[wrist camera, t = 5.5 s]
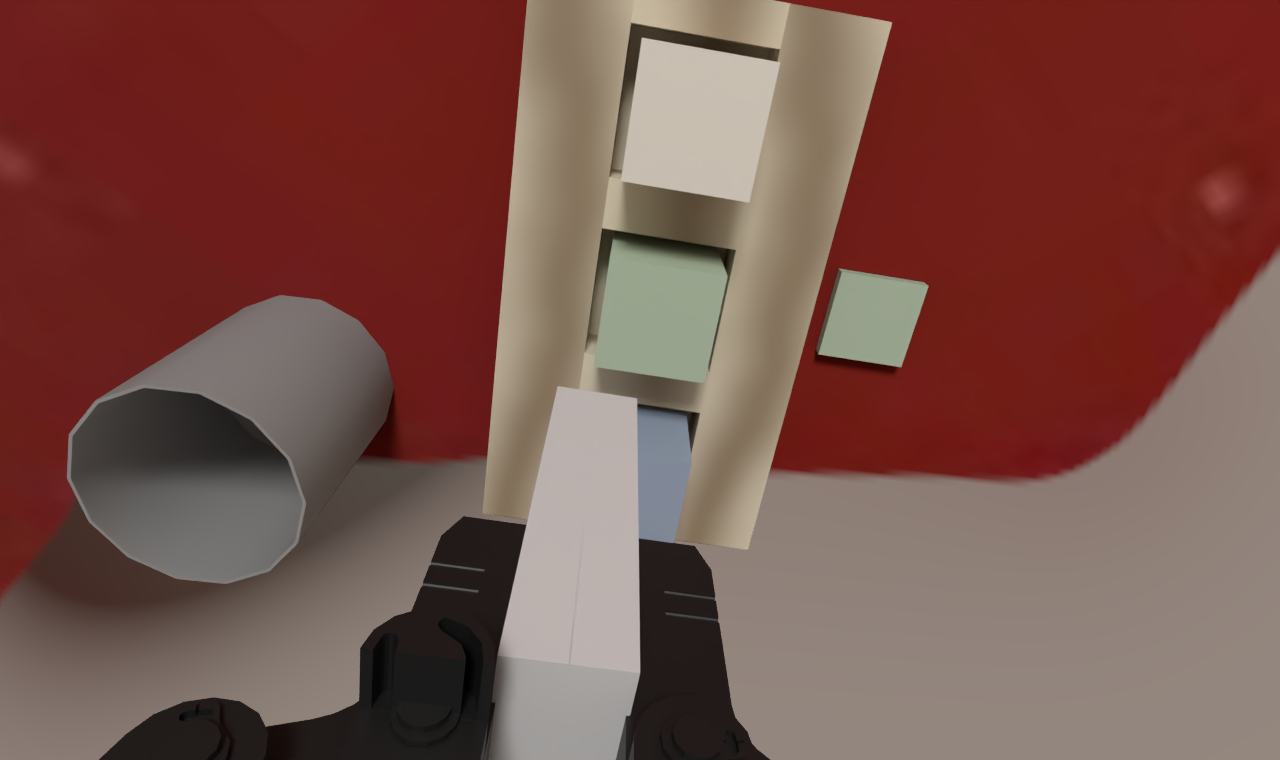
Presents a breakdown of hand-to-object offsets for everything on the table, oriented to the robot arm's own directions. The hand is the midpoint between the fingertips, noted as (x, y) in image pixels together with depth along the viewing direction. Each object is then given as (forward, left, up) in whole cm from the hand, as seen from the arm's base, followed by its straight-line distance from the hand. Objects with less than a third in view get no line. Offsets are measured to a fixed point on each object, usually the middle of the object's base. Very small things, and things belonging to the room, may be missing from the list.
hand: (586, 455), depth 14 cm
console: (+2, -2, -20) cm, 20 cm away
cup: (-14, -10, -20) cm, 26 cm away
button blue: (+2, -10, -18) cm, 20 cm away
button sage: (+2, -2, -19) cm, 19 cm away
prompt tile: (+12, -2, -20) cm, 23 cm away
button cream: (+2, +5, -18) cm, 19 cm away
